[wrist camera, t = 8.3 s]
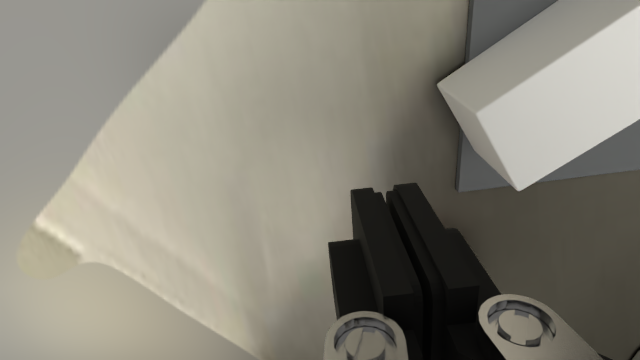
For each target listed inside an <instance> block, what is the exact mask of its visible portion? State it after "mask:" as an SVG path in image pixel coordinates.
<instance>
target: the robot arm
mask: <svg viewBox="0 0 640 360" xmlns="http://www.w3.org/2000/svg"><path fill="white" fill-rule="evenodd" d="M351 208H352V224H353V240H345V241H336V242H328V247H329V258H330V268H331V278H332V286H333V294H334V302H335V309H336V316H337V321H335V322H334V323H333V324H332V326H331V327H330V329H329V330H328V332H327V335H326V339H325V347H324V358H323V360H612V359H610V358H607V357H605V356H603V355H600V354H598V353H596V352H595V351H594V350H593V349H592V348H591V347H590V346H589V345H588V344H587V343H586V342H585V341H584V340H583V339H582V338H581V337H580V336H579V335H578V334H577V333H576V332H575V331H574V330H573V329H572V328H571V327H570V326H569V325H568V324H567V323H566V322H565V321H564V320H563V319H562V318H561V317H560V316H559V315H558V314H557V313H555V312H554V311H553V310H552V309H550V308H549V307H548V306H546V305H545V304H543V303H541V302H539V301H537V300H535V299H532V298H528V297H525V296H521V295H512V294H506V295H501V294H500V292H499V291H498V289H497V288H496V286H495V285H494V283H493V282H492V280H491V279H490V277H489V276H488V274H487V273H486V271H485V270H484V268H483V267H482V265H481V264H480V262H479V261H478V259H477V258H476V256H475V255H474V253H473V251H472V250H471V248H470V247H469V245H468V244H467V242H466V241H465V239H464V238H463V236H462V235H461V233H460V232H459V231H458V230H457V229H455V228H451V229H445V228H444V227H443V225H442V224H441V222H440V220H439V219H438V217H437V215H436V214H435V212H434V211H433V209H432V207H431V206H430V204H429V202H428V201H427V199H426V198H425V196H424V194H423V193H422V191H421V189H420V188H419V186H418V185H417V183H408V184H399V185H394V187H393V191H387V192H386V202H385V200H384V198H383V195H382V193H381V192H377V193H374V190H373V188H363V189H354V190H351ZM632 360H640V350H639V351H638V352H637V354H636V355H635V356H634V358H633V359H632Z"/></svg>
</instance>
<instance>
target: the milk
mask: <svg viewBox="0 0 640 360" xmlns="http://www.w3.org/2000/svg"><path fill="white" fill-rule="evenodd" d="M437 86H438V88H439V90H440V92H441V93H442V95H443V97H444V99H445V100H446V102H447V104H448V106H449V107H450V109H451V111H452V113H453V114H454V116H455V118H456V119H457V121H458V123H459V125H460V126H461V128H462V130H463V132H464V133H465V135H466V137H467V139H468V140H469V142H470V144H471V145H472V147H473V149H474V151H475V152H476V153H477V154H479V155H480V156H481V157H482V158H483V159H484V160H485V161H486V162H487V163H488V164H489V165H490V166H491V167H492V168H493V169H495V170H496V171H497V172H498V173H499V174H500V175H501V176H502V177H503V178H504V179H505V180H506V181H507V182H508V183H509V184H510V185H512V186H513V187H514V188H515V189H516V190H517V191H521V190H523V189H524V188H526V187H528V186H529V185H531V184H533V183H534V182H536V181H538V180H539V179H541V178H543V177H544V176H546V175H548V174H549V173H551V172H553V171H554V170H556V169H558V168H559V167H561V166H563V165H564V164H566V163H568V162H569V161H571V160H573V159H574V158H576V157H578V156H579V155H581V154H583V153H584V152H586V151H588V150H589V149H591V148H593V147H594V146H596V145H598V144H599V143H601V142H603V141H604V140H606V139H608V138H609V137H611V136H613V135H614V134H616V133H618V132H619V131H621V130H623V129H624V128H626V127H627V126H629V125H631V124H632V123H634V122H636V121H637V120H639V119H640V0H558V1H556V2H555V3H553V4H552V5H551V6H549V7H548V8H546V9H545V10H543V11H542V12H540V13H539V14H538V15H536V16H535V17H533V18H532V19H530V20H529V21H527V22H526V23H524V24H523V25H522V26H520V27H519V28H517V29H516V30H514V31H513V32H511V33H510V34H508V35H507V36H506V37H504V38H503V39H501V40H500V41H498V42H497V43H495V44H494V45H492V46H491V47H490V48H488V49H487V50H485V51H484V52H482V53H481V54H479V55H478V56H477V57H475V58H474V59H472V60H471V61H469V62H468V63H466V64H465V65H463V66H462V67H461V68H459V69H458V70H456V71H455V72H453V73H452V74H450V75H449V76H447V77H446V78H445V79H443V80H442V81H440V82H439V83H438V84H437Z"/></svg>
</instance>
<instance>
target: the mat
mask: <svg viewBox="0 0 640 360" xmlns="http://www.w3.org/2000/svg"><path fill="white" fill-rule="evenodd" d="M556 1H558V0H470V3H469V16H468V29H467V42H466V55H465V64H466V63H468V62H469V61H471V60H472V59H474V58H475V57H477V56H478V55H479V54H481V53H482V52H484V51H485V50H487V49H488V48H490V47H491V46H492V45H494V44H495V43H497V42H498V41H500V40H501V39H503V38H504V37H506V36H507V35H508V34H510V33H511V32H513V31H514V30H516V29H517V28H519V27H520V26H522V25H523V24H524V23H526V22H527V21H529V20H530V19H532V18H533V17H535V16H536V15H538V14H539V13H540V12H542V11H543V10H545V9H546V8H548V7H549V6H551V5H552V4H553V3H555V2H556ZM632 170H640V119H639V120H637V121H636V122H634V123H632V124H631V125H629V126H627V127H626V128H624V129H623V130H621V131H619V132H618V133H616V134H614V135H613V136H611V137H609V138H608V139H606V140H604V141H603V142H601V143H599V144H598V145H596V146H594V147H593V148H591V149H589V150H588V151H586V152H584V153H583V154H581V155H579V156H578V157H576V158H574V159H573V160H571V161H569V162H568V163H566V164H564V165H563V166H561V167H559V168H558V169H556V170H554V171H553V172H551V173H549V174H548V175H546V176H544V177H543V178H541V179H539V180H538V181H536V182H544V181H552V180H560V179H568V178H576V177H584V176H592V175H600V174H608V173H616V172H624V171H632ZM536 182H534V183H536ZM505 186H512V185H510V184H509V183H508V182H507V181H506V180H505V179H504V178H503V177H502V176H501V175H500V174H499V173H498V172H497V171H496V170H495V169H493V168H492V167H491V166H490V165H489V164H488V163H487V162H486V161H485V160H484V159H483V158H482V157H481V156H480V155H479V154H477V153H476V152H475V151H474V149H473V147H472V145H471V144H470V142H469V140H468V139H467V137H466V135H465V133H464V132H463V130H462V128H461V126H460V134H459V147H458V160H457V174H456V187H455V189H456V190H457V191H458V192H465V191H473V190H481V189H489V188H497V187H505Z"/></svg>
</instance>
